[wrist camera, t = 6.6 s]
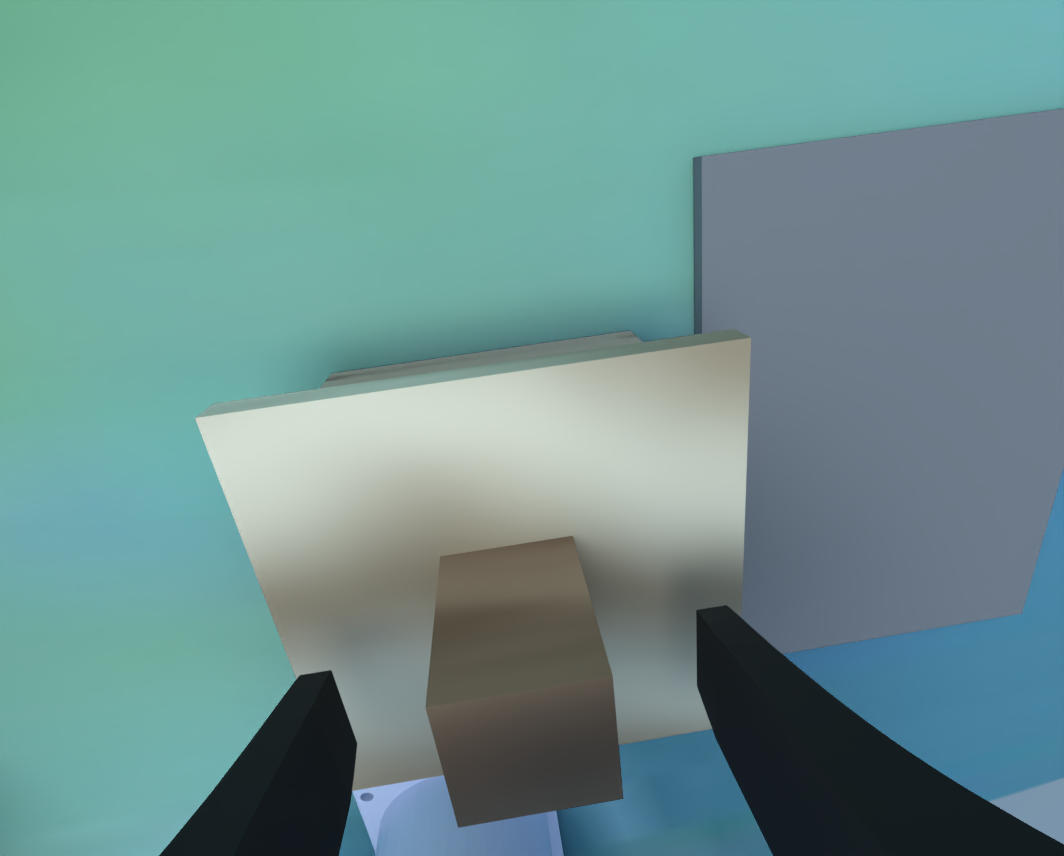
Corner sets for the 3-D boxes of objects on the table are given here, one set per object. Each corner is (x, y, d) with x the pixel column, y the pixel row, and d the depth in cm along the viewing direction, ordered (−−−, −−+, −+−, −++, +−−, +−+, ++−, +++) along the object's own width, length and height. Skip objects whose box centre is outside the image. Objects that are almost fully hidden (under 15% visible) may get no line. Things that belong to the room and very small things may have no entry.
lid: (725, 700, 16) (819, 889, 12) (346, 765, 16) (296, 985, 11) (733, 328, 12) (887, 407, 7) (212, 404, 11) (48, 533, 7)
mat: (1008, 603, 23) (1021, 613, 22) (696, 655, 22) (702, 667, 22) (1144, 98, 16) (1169, 94, 15) (693, 158, 15) (701, 156, 15)
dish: (642, 571, 20) (691, 681, 16) (397, 611, 20) (374, 735, 15) (629, 330, 17) (688, 380, 12) (331, 373, 16) (276, 442, 12)
